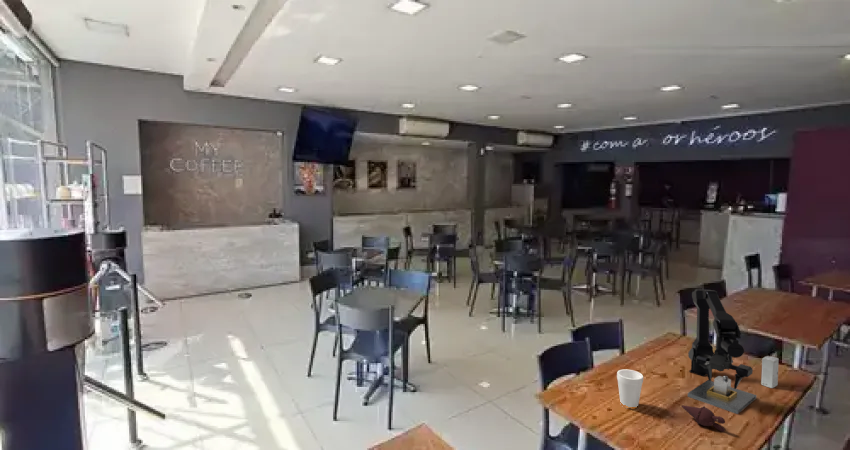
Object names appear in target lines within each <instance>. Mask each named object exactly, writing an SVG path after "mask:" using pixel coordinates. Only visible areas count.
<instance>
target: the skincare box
mask: <svg viewBox="0 0 850 450" xmlns="http://www.w3.org/2000/svg"><path fill="white" fill-rule="evenodd" d="M779 360H780V359H779V358H778V357H776V356H775V357H774V356H770V355H766V356H764V357H763V358H762V359H761V381H760V384H761V385H762V386H764V387H767V388H770V389H773V388H775V387H777V386H778V383H779V381H778V380H779Z"/></svg>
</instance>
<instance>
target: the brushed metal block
mask: <svg viewBox="0 0 850 450" xmlns="http://www.w3.org/2000/svg"><path fill="white" fill-rule="evenodd" d="M713 382H714V392H715V393H718V394H721V395H724V396H727V397H729V396H730V391H731V387H732V386H731V385H732V379H730V378H729V377H728V376H727V375H723V376H721V375H718V376H716V377H715V378H714V379H713Z"/></svg>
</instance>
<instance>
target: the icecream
mask: <svg viewBox="0 0 850 450" xmlns="http://www.w3.org/2000/svg"><path fill="white" fill-rule="evenodd" d="M680 407H681V408H683V410H684V411H686V413H688V415H690V416H691V417H692V418H693V419H695V422H696V423H697V425H701V426H703V427H711V426H713V428H715V429H716V430H717V431H719V432H722V433H723V432H725V431H726V430H725V427H724V426H723V425H724V424H725V423H726V420H725V418H724V417H722V416H717V415H715V414H714V412H713V411H712V410H711V409H709V408H707V407H706V406H705V405H704V406H702V407H697V406H696V407H695V406H691V405H690V406H689V405H684V404H683V405H680ZM721 424H722V425H721Z"/></svg>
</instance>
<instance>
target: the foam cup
mask: <svg viewBox="0 0 850 450" xmlns="http://www.w3.org/2000/svg"><path fill="white" fill-rule="evenodd" d="M616 379H617V385H618V393H619V394H618V395H619V400H620V402H621V403H622V404H623V405H626V406H628V407H637V406H638V407H639V404H640V403H639V402H640V397H641V392H642V386H643V383H644V376H643V374H642V373H641V372H639V371H637V370H634V369H626V368H625V369H619V370H617V372H616ZM621 403H620V404H621Z"/></svg>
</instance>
